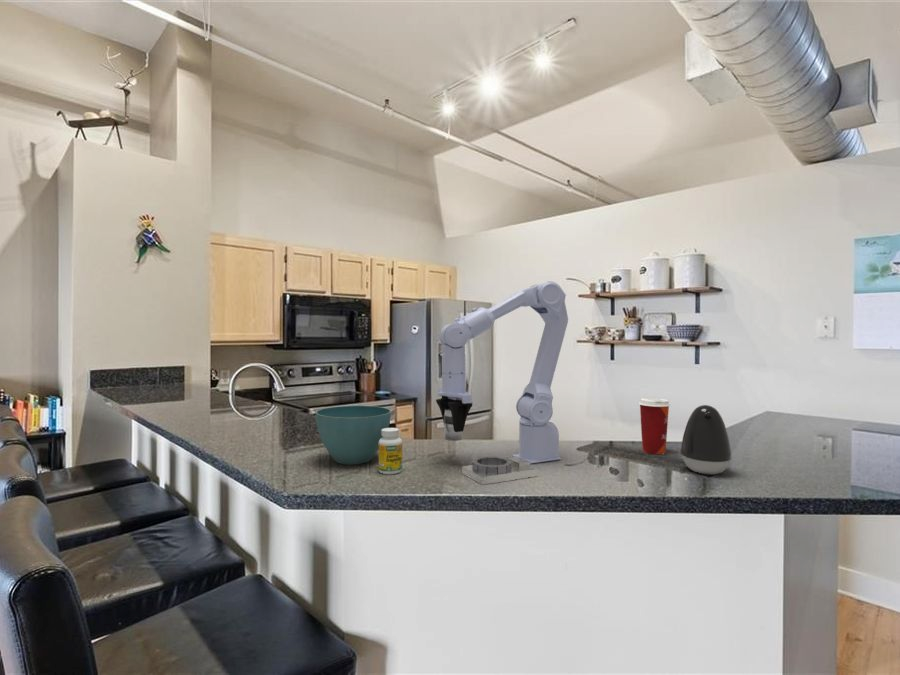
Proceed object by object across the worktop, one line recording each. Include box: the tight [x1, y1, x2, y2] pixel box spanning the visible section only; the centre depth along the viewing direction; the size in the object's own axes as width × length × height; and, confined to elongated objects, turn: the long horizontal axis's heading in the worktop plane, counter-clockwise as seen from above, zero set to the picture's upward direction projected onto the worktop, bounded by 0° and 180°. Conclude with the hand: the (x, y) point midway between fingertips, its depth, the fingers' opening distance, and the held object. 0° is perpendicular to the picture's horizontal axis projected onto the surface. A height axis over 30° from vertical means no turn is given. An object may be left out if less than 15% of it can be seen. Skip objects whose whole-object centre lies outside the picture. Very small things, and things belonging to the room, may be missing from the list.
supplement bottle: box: [378, 427, 403, 475], centre depth 110 cm, size 5×5×10 cm
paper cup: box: [638, 397, 671, 455], centre depth 129 cm, size 8×8×14 cm
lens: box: [443, 408, 463, 442], centre depth 117 cm, size 5×5×7 cm
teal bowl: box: [315, 405, 392, 465], centre depth 120 cm, size 18×18×12 cm
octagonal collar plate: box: [461, 456, 539, 486], centre depth 108 cm, size 14×9×3 cm, turn 116°
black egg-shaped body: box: [680, 404, 732, 476], centre depth 111 cm, size 10×10×15 cm
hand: (453, 429), depth 117 cm, fingers closed on lens, 5 cm apart
